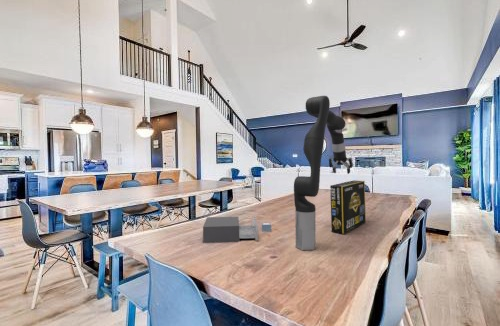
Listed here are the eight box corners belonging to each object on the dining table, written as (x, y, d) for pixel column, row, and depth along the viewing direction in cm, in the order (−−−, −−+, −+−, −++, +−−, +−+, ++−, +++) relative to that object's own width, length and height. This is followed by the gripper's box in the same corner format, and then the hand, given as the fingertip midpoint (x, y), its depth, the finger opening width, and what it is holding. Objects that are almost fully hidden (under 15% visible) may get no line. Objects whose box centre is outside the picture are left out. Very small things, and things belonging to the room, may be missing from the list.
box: (344, 235, 138) (344, 185, 137) (329, 232, 144) (329, 184, 143) (366, 223, 163) (366, 181, 162) (353, 220, 168) (353, 180, 167)
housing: (238, 230, 149) (238, 216, 149) (239, 241, 129) (239, 225, 129) (207, 231, 148) (207, 217, 148) (203, 242, 128) (203, 226, 128)
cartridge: (271, 231, 146) (271, 224, 146) (262, 231, 146) (262, 224, 146) (270, 229, 150) (270, 222, 150) (261, 229, 150) (261, 223, 150)
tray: (254, 229, 150) (254, 216, 149) (258, 240, 130) (258, 225, 129) (224, 230, 148) (223, 217, 148) (222, 241, 128) (222, 226, 128)
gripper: (325, 151, 162) (329, 175, 167) (349, 151, 154) (351, 176, 159) (329, 147, 168) (332, 170, 173) (352, 147, 159) (354, 171, 164)
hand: (341, 173), depth 166 cm, fingers open, 8 cm apart
